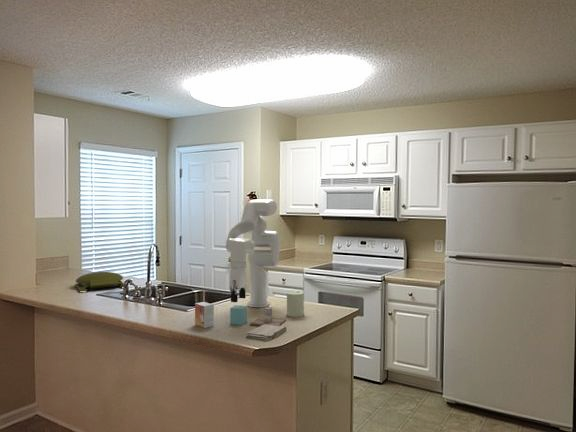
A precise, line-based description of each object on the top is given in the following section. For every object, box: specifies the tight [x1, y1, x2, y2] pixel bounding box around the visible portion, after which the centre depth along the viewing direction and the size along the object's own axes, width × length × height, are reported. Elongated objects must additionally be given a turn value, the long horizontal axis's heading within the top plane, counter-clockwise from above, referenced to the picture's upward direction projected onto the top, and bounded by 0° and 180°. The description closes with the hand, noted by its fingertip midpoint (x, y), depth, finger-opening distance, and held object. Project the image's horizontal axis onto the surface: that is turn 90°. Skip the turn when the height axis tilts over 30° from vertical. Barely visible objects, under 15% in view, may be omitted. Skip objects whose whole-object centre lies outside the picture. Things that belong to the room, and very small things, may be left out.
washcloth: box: [245, 324, 287, 342], centre depth 204 cm, size 12×18×3 cm, turn 155°
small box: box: [194, 301, 215, 329], centre depth 218 cm, size 8×6×10 cm
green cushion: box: [74, 271, 124, 292], centre depth 317 cm, size 35×31×10 cm
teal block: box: [229, 304, 248, 326], centre depth 223 cm, size 6×6×8 cm
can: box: [286, 290, 305, 318], centre depth 238 cm, size 9×9×12 cm
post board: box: [249, 306, 287, 327], centre depth 222 cm, size 13×14×8 cm
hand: (238, 300), depth 222 cm, fingers open, 9 cm apart
